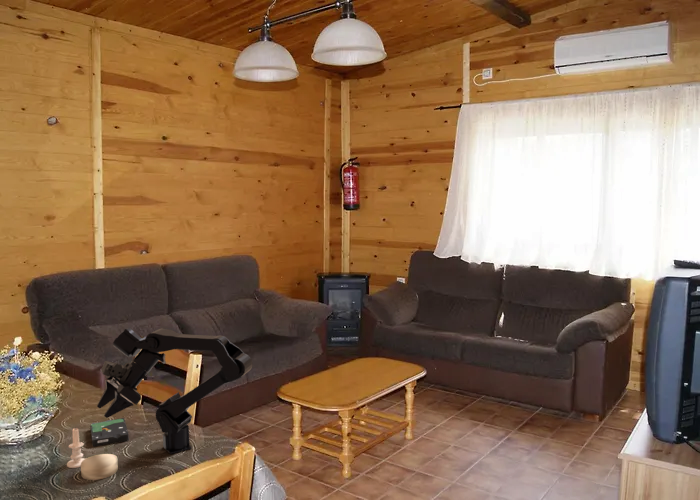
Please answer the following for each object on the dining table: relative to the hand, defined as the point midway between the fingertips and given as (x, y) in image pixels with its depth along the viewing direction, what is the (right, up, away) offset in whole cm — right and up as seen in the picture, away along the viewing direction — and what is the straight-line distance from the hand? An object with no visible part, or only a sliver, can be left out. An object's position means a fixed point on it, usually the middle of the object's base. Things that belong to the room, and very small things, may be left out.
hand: (101, 412), depth 170 cm
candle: (-6, -14, -3) cm, 15 cm away
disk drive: (-5, -12, +17) cm, 22 cm away
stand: (+3, -14, -8) cm, 16 cm away
